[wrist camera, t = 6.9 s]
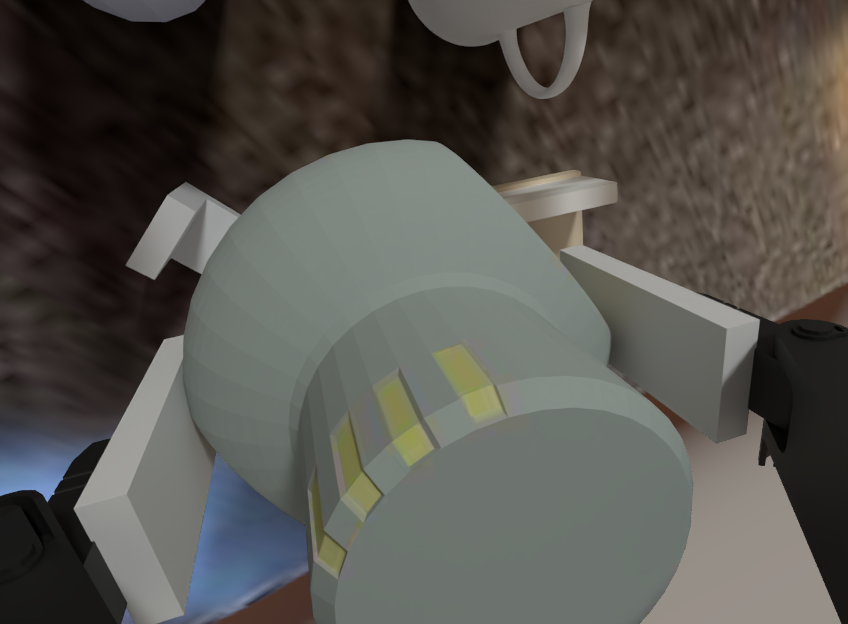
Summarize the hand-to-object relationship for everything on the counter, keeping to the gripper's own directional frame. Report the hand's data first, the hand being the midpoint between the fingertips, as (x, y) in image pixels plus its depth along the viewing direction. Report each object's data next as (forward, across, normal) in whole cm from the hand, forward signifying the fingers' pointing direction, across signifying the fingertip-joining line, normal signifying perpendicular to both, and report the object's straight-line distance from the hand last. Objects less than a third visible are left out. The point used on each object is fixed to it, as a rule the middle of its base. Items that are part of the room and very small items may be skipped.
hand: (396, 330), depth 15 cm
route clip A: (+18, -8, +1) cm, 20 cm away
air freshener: (+1, 0, 0) cm, 1 cm away
